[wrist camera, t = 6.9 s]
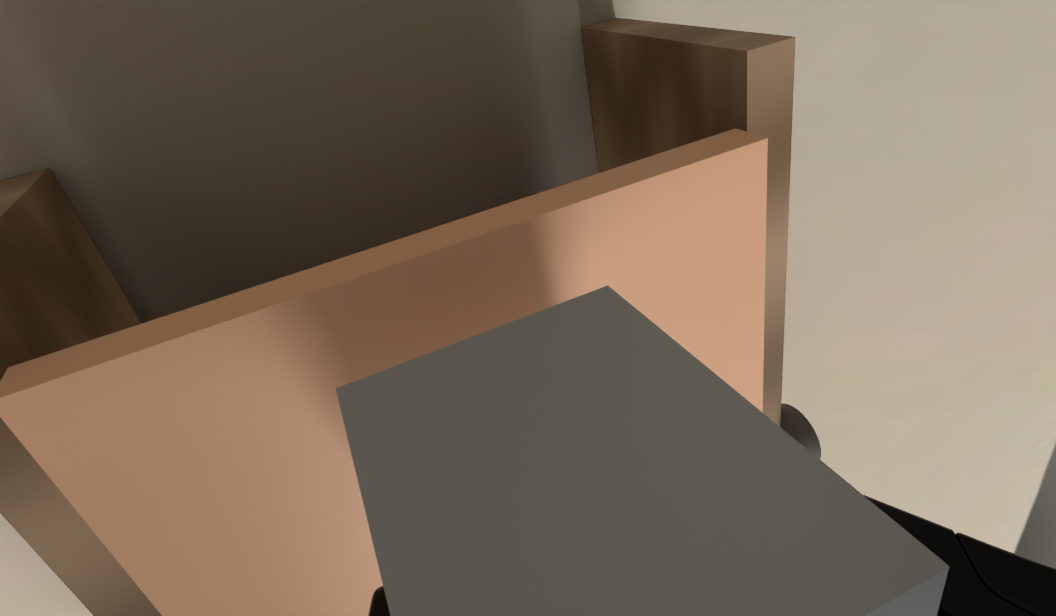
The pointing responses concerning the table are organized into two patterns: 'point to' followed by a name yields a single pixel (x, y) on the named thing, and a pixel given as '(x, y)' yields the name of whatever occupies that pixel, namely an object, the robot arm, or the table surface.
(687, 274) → the trapdoor
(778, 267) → the trapdoor frame
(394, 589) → the stone
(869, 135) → the table surface
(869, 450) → the table surface
